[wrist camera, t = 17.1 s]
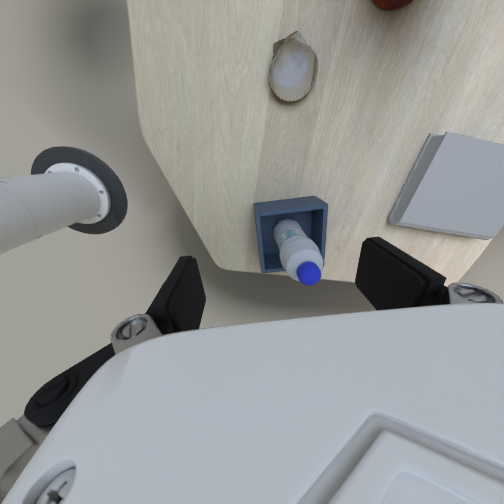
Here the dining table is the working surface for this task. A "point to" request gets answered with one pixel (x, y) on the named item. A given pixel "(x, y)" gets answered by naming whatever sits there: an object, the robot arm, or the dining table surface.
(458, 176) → the book
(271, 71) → the seashell
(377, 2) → the lantern
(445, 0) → the dining table surface
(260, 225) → the bin
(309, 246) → the bottle
